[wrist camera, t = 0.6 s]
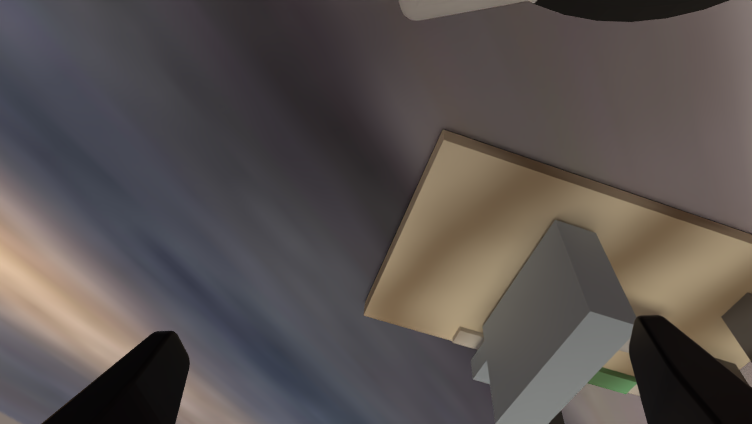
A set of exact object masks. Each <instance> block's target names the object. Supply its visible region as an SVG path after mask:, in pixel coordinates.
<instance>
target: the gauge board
mask: <svg viewBox="0 0 752 424" xmlns="http://www.w3.org/2000/svg"><path fill="white" fill-rule="evenodd" d="M555 220H558V221H561V222H564V223H567V224H570V225H573V226H576V227H579V228H582V229H585V230H588V231H591V232H594V233H596V234H597V236H598V239H599V241H600V243H601V245H602V247H603V249H604V251H605V253H606V255H607V257H608V259H609V261H610V263H611V266H612V268H613V270H614V272H615V274H616V276H617V278H618V280H619V282H620V284H621V286H622V288H623V290H624V293H625V295H626V297H627V299H628V301H629V303H630V305H631V307H632V309H633V311H634V313H635V315H636V317H637V316H640V315H660V316H663V317H664V318H666V319H667V320H668V321H670V322H671V323H672V324H673V325H675V326H676V327H677V328H678V329H680V330H681V331H682V332H683V333H685V334H686V335H687V336H688V337H690V338H691V339H692V340H693V341H695V342H696V343H697V344H698V345H700V346H701V347H702V348H703V349H705V350H706V351H707V352H708V353H709V354H711V355H712V356H713V357H714V358H716V359H717V360H718V361H719V362H721V363H722V364H723V365H724V366H726V367H727V368H728V369H729V370H731V371H732V372H733V373H734V374H736V375H737V376H738V377H739V378H741V379H742V380H743V381H744V382H746V383H747V381H746V380H745V378H744V377H743V375H742V373H741V372H740V369H741V368H742V367H743V366H745V365H746V364H747V363H748V362H749V361H751V362H752V235H751V234H749V233H746V232H743V231H740V230H737V229H734V228H731V227H728V226H725V225H722V224H719V223H716V222H713V221H710V220H707V219H704V218H702V217H699V216H696V215H693V214H690V213H687V212H684V211H681V210H678V209H675V208H672V207H669V206H666V205H663V204H660V203H658V202H655V201H652V200H649V199H646V198H643V197H640V196H637V195H634V194H631V193H628V192H625V191H622V190H619V189H616V188H614V187H611V186H608V185H605V184H602V183H599V182H596V181H593V180H590V179H587V178H584V177H581V176H578V175H575V174H572V173H570V172H567V171H564V170H561V169H558V168H555V167H552V166H549V165H546V164H543V163H540V162H537V161H534V160H531V159H528V158H526V157H523V156H520V155H517V154H514V153H511V152H508V151H505V150H502V149H499V148H496V147H493V146H490V145H487V144H484V143H481V142H479V141H476V140H473V139H470V138H467V137H464V136H461V135H458V134H455V133H452V132H449V131H446V130H442V132H441V135H440V137H439V139H438V141H437V143H436V146H435V148H434V150H433V152H432V155H431V157H430V159H429V161H428V164H427V166H426V168H425V170H424V172H423V175H422V177H421V179H420V181H419V184H418V186H417V188H416V190H415V192H414V195H413V197H412V199H411V201H410V204H409V206H408V208H407V210H406V212H405V215H404V217H403V219H402V221H401V224H400V226H399V228H398V230H397V232H396V235H395V237H394V239H393V241H392V244H391V246H390V248H389V250H388V253H387V255H386V257H385V259H384V261H383V264H382V266H381V268H380V270H379V273H378V275H377V277H376V279H375V281H374V284H373V286H372V288H371V290H370V293H369V295H368V297H367V299H366V301H365V308H364V316H367V317H371V318H374V319H378V320H381V321H385V322H388V323H392V324H395V325H399V326H402V327H406V328H409V329H413V330H416V331H420V332H423V333H427V334H430V335H434V336H437V337H441V338H444V339H448V340H451V341H452V342H453V343H456V344H460V345H463V346H467V347H470V348H474V349H477V350H478V349H479V348H480V347H481V345H482V344H483V342H484V335H483V328H482V327H483V325H484V324H485V322H486V321H487V320H488V318H489V317H490V315H491V314H492V312H493V311H494V309H495V308H496V306H497V305H498V303H499V302H500V300H501V299H502V297H503V296H504V294H505V293H506V291H507V290H508V289H509V287H510V286H511V284H512V283H513V281H514V280H515V278H516V277H517V275H518V274H519V272H520V271H521V269H522V268H523V266H524V265H525V263H526V262H527V260H528V259H529V258H530V256H531V255H532V253H533V252H534V250H535V249H536V247H537V246H538V244H539V243H540V241H541V240H542V238H543V237H544V235H545V234H546V232H547V231H548V229H549V228H550V227H551V225H552V224H553V222H554V221H555ZM588 383H589V384H592V385H596V386H599V387H603V388H606V389H610V390H613V391H617V392H620V393H624V394H627V393H631V394H634V395H638V396H640V394H639V390H638V386H637V383H636V379H635V375H634V372H633V368H632V364H631V361H630V357H629V353H627V352H623V351H620V350H618V351H617V352H616V353H615V354H614V356H613V357H612V358H611V359H610V360H609V361H608V362H607V363H606V364H605V365H604V366H603V367H602V368H601V369H600V370H599V371H598V372H597V373H596V374H595V375H594V376H593V377H592V378H591V380H590V381H589V382H588ZM747 384H748V383H747ZM748 385H749V384H748Z"/></svg>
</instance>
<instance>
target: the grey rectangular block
mask: <svg viewBox="0 0 752 424" xmlns="http://www.w3.org/2000/svg"><path fill="white" fill-rule="evenodd" d="M635 319H636V315H635V313H634V311H633V309H632V307H631V305H630V303H629V301H628V299H627V297H626V295H625V293H624V290H623V288H622V286H621V284H620V282H619V280H618V278H617V276H616V274H615V272H614V270H613V268H612V266H611V263H610V261H609V259H608V257H607V255H606V253H605V251H604V249H603V247H602V245H601V243H600V241H599V239H598V236H597V234H596V233H594V232H591V231H588V230H585V229H582V228H579V227H576V226H573V225H570V224H567V223H564V222H561V221H558V220H555V221H554V222H553V224H552V225H551V227H550V228H549V229H548V231H547V232H546V234H545V235H544V237H543V238H542V240H541V241H540V243H539V244H538V246H537V247H536V249H535V250H534V252H533V253H532V255H531V256H530V258H529V259H528V260H527V262H526V263H525V265H524V266H523V268H522V269H521V271H520V272H519V274H518V275H517V277H516V278H515V280H514V281H513V283H512V284H511V286H510V287H509V289H508V290H507V291H506V293H505V294H504V296H503V297H502V299H501V300H500V302H499V303H498V305H497V306H496V308H495V309H494V311H493V312H492V314H491V315H490V317H489V318H488V320H487V321H486V322H485V324H484V325H483V327H482V328H483V335H484V342H483V344H482V345H481V347H480V348H479V349H478V351H477V352H476V354H475V355H474V357H473V358H472V359H471V367H472V377H473V379H474V380H477V381H481V382H484V383H488V384H490V388H491V395H492V403H493V410H494V417H495V424H548V423H549V422H550V421H551V420H552V419H553V418H554V417H555V416H556V415H557V414H558V413H559V412H560V411H561V410H562V409H563V408H564V407H565V406H566V405H567V404H568V402H569V401H570V400H571V399H572V398H573V397H574V396H575V395H576V394H577V393H578V392H579V391H580V390H581V389H582V388H583V387H584V386H585V385H586V384H587V383H588V382H589V381H590V380H591V378H592V377H593V376H594V375H595V374H596V373H597V372H598V371H599V370H600V369H601V368H602V367H603V366H604V365H605V364H606V363H607V362H608V361H609V360H610V359H611V358H612V357H613V356H614V354H615V353H616V352H617V351H618V350H620V351H623V352H627V353H629V343H630V338H631V334H632V329H633V325H634V321H635Z"/></svg>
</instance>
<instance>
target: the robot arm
mask: <svg viewBox="0 0 752 424" xmlns="http://www.w3.org/2000/svg"><path fill="white" fill-rule="evenodd" d="M629 357H630V361H631V364H632V368H633V372H634V375H635V379H636V383H637V386H638V390H639V394H640V397H641V401H642V405H643V408H644V412H645V416H646V419H647V423H648V424H752V387H751V386H749V385H748V384H747V383H746V382H744V381H743V380H742V379H741V378H739V377H738V376H737V375H736V374H734V373H733V372H732V371H731V370H729V369H728V368H727V367H726V366H724V365H723V364H722V363H721V362H719V361H718V360H717V359H716V358H714V357H713V356H712V355H711V354H709V353H708V352H707V351H706V350H705V349H703V348H702V347H701V346H700V345H698V344H697V343H696V342H695V341H693V340H692V339H691V338H690V337H688V336H687V335H686V334H685V333H683V332H682V331H681V330H680V329H678V328H677V327H676V326H675V325H673V324H672V323H671V322H670V321H668V320H667V319H666V318H664V317H663V316H660V315H640V316H637V317H636V319H635V321H634V325H633V329H632V334H631V338H630V343H629ZM189 365H190V361H189V356H188V354H187V352H186V350H185V348H184V346H183V344H182V342H181V340H180V339H179V337H178V335H177V334H176V333H175V332H174V331H157V332H154V333H152V334H151V335H149V336H148V337H147V338H146V339H145V340H143V341H142V342H141V343H140V344H138V345H137V346H136V347H135V348H134V349H132V350H131V351H130V352H129V353H127V354H126V355H125V356H124V357H123V358H121V359H120V360H119V361H118V362H116V363H115V364H114V365H113V366H112V367H110V368H109V369H108V370H107V371H105V372H104V373H103V374H102V375H100V376H99V377H98V378H97V379H96V380H94V381H93V382H92V383H91V384H89V385H88V386H87V387H86V388H85V389H83V390H82V391H81V392H80V393H78V394H77V395H76V396H75V397H74V398H72V399H71V400H70V401H69V402H67V403H66V404H65V405H64V406H63V407H61V408H60V409H59V410H58V411H56V412H55V413H54V414H53V415H51V416H50V417H49V418H48V419H47V420H45V421H44V422H43V423H42V424H175V422H176V419H177V415H178V411H179V407H180V403H181V399H182V395H183V391H184V387H185V383H186V379H187V375H188V371H189Z"/></svg>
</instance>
